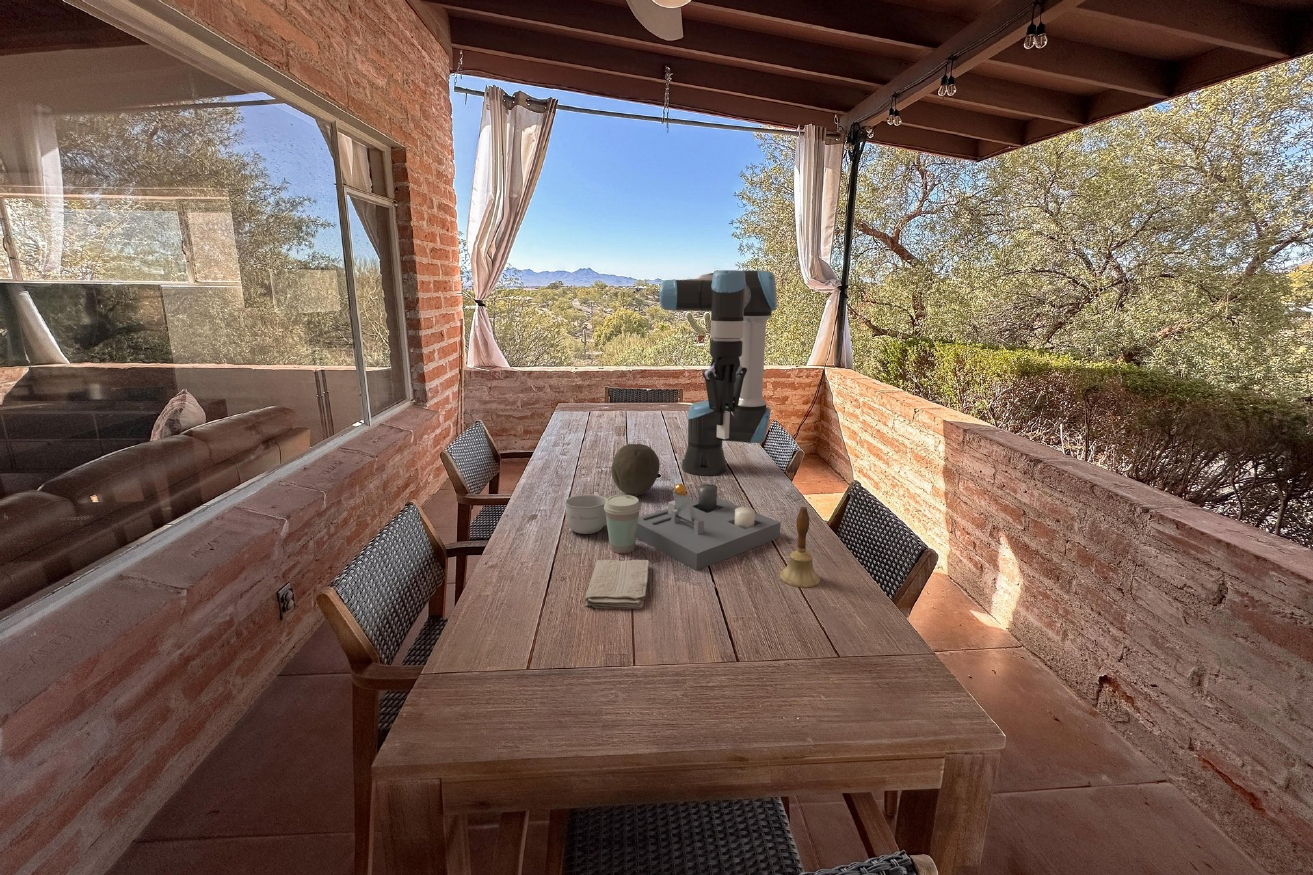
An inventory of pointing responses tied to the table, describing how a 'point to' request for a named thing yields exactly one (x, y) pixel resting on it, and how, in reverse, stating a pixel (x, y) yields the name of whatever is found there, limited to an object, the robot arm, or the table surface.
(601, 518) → the teacup
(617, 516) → the coffee cup
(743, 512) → the cream button
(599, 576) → the washcloth
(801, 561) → the hand bell
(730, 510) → the panel
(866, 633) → the table surface
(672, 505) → the slider knob
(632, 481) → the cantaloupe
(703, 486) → the dark gray button
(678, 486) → the lever
